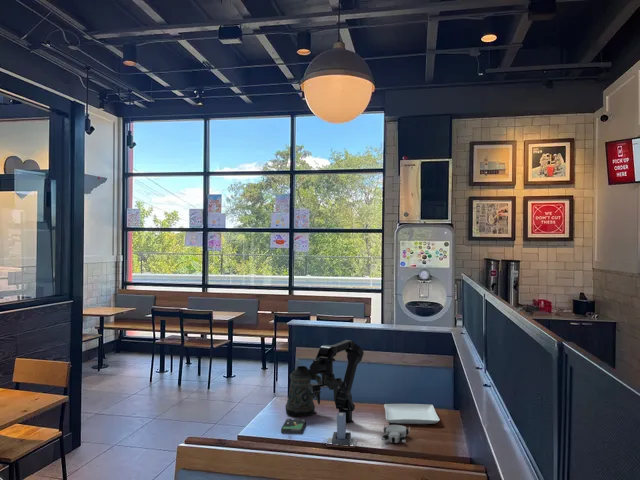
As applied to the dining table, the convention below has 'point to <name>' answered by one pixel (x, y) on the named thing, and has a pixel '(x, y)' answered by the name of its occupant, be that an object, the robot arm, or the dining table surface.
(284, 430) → the disk drive
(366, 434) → the dining table surface
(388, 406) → the square plate
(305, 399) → the beer stein
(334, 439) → the frame
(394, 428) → the robot toy
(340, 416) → the light blue tall block
